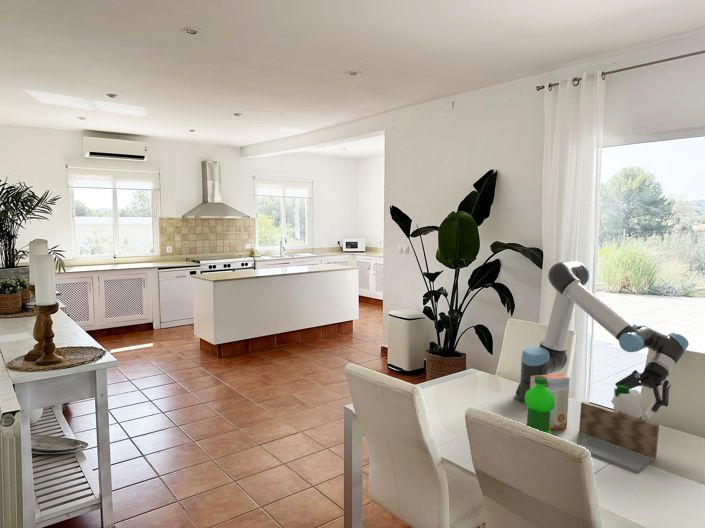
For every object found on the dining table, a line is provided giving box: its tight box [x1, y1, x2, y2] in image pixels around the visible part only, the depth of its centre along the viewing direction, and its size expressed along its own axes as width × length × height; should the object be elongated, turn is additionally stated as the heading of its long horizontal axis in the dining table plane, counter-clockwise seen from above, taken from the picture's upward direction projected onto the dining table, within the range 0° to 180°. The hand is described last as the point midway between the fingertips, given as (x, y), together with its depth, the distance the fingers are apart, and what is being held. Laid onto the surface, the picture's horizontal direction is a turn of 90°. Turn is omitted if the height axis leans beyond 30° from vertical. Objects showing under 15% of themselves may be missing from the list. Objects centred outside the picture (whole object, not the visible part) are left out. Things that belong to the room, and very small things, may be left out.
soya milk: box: [612, 385, 644, 419], centre depth 179 cm, size 9×9×20 cm
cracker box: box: [530, 373, 570, 431], centre depth 187 cm, size 14×6×21 cm, turn 104°
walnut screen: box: [578, 401, 660, 460], centre depth 174 cm, size 26×2×12 cm, turn 40°
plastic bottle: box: [524, 376, 555, 435], centre depth 172 cm, size 10×10×25 cm
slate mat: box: [579, 437, 653, 474], centre depth 166 cm, size 20×13×1 cm, turn 40°
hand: (629, 410), depth 179 cm, fingers open, 13 cm apart
